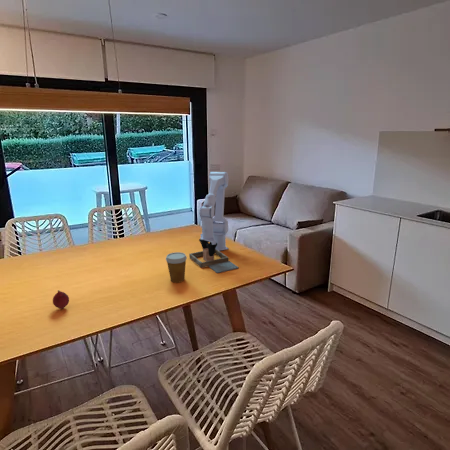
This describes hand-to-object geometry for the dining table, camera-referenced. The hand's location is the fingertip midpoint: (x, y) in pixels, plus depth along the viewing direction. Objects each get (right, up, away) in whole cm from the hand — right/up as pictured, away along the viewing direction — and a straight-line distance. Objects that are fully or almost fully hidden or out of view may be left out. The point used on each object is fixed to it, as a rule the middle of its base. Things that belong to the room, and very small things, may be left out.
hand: (208, 253), depth 181 cm
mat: (+8, -6, -9) cm, 14 cm away
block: (0, -3, +1) cm, 4 cm away
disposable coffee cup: (-13, -10, -22) cm, 28 cm away
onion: (-56, -18, -45) cm, 74 cm away
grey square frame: (0, -3, +1) cm, 4 cm away
